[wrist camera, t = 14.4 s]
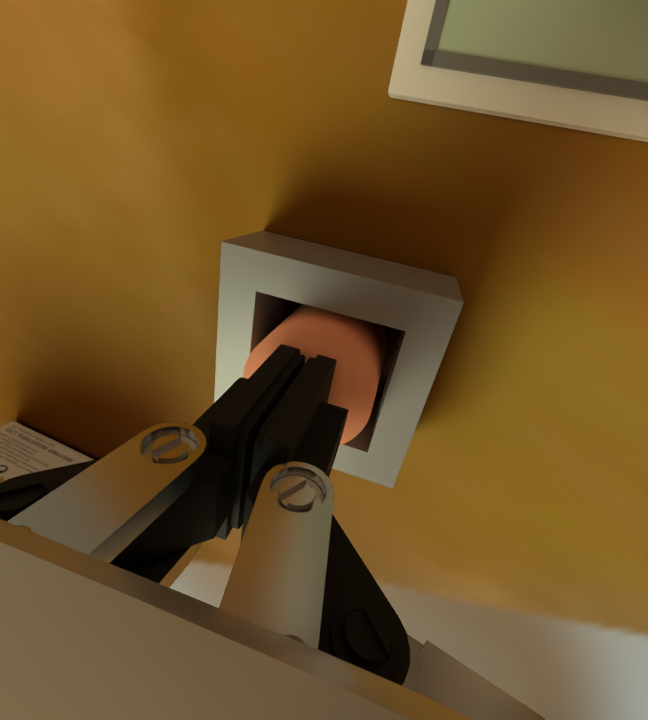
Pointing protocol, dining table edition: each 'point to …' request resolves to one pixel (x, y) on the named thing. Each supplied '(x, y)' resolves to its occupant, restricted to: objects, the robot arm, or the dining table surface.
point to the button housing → (351, 298)
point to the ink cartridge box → (32, 452)
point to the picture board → (530, 61)
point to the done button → (334, 357)
